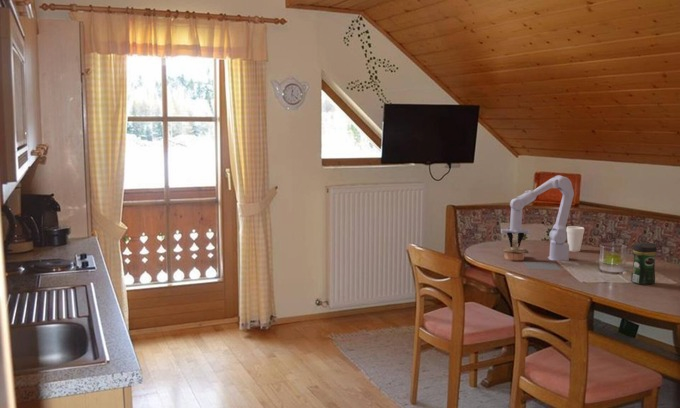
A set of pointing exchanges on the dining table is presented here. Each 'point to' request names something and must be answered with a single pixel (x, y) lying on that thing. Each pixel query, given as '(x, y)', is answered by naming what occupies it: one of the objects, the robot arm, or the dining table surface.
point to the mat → (541, 265)
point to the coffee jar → (644, 263)
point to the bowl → (514, 256)
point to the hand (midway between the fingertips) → (514, 247)
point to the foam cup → (575, 237)
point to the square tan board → (514, 249)
